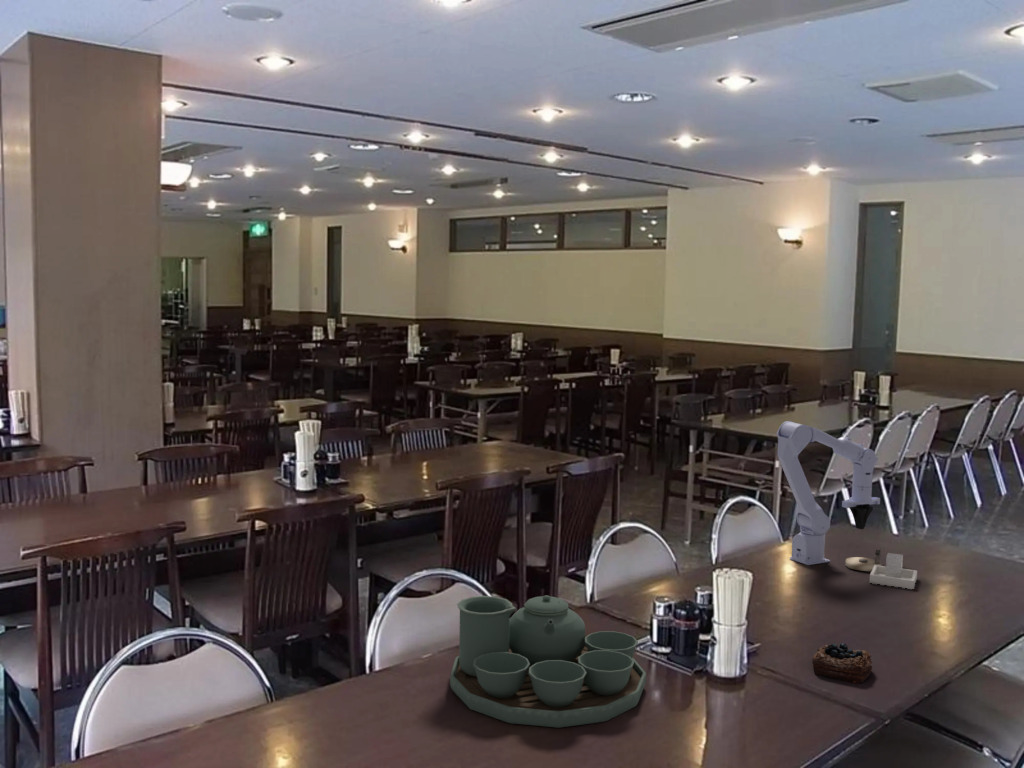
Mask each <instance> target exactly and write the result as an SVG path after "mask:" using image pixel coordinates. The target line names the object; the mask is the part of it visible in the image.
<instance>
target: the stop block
mask: <svg viewBox="0 0 1024 768" xmlns="http://www.w3.org/2000/svg"><path fill="white" fill-rule="evenodd" d="M903 558H904V554H900V553H893V552H887V554H886V557H885V559H886V560H885V561H886V562H885V566H886V576H887V577H894V578H902V569H903V562H904V561H903V560H904V559H903Z"/></svg>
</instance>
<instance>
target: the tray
mask: <svg viewBox="0 0 1024 768" xmlns="http://www.w3.org/2000/svg"><path fill="white" fill-rule="evenodd" d="M917 579H918V570H915V569H907V568H902V578H894V577H887V576H886V565H884V566H883V565H881V566H879V565H874V567H873V569H872V571H870V574H869V584H870V583H872V584H871V585H877V584H880V585H879V586H884V585H887V586H886V587H891V586H894V587H893V588H898V587H902V588H901V589H905V588H907V589H906V590H912V589H914V590H915V587H916V584H915V583H917Z"/></svg>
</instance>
